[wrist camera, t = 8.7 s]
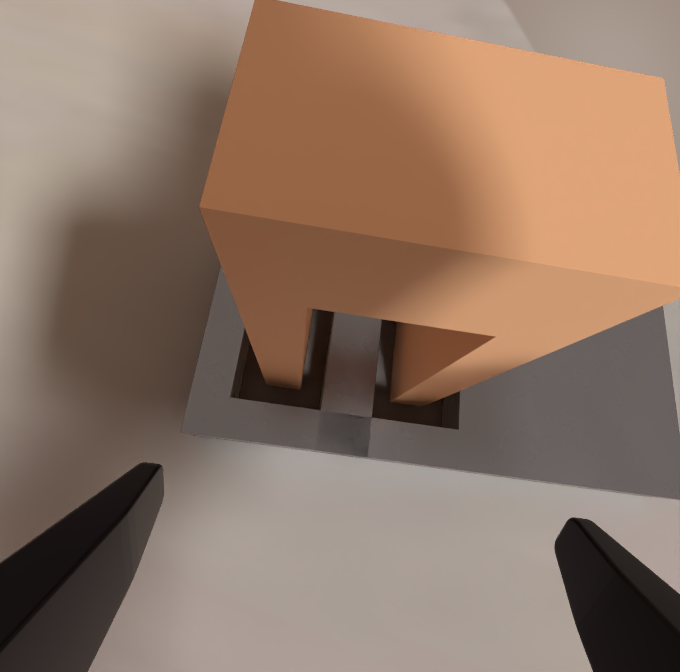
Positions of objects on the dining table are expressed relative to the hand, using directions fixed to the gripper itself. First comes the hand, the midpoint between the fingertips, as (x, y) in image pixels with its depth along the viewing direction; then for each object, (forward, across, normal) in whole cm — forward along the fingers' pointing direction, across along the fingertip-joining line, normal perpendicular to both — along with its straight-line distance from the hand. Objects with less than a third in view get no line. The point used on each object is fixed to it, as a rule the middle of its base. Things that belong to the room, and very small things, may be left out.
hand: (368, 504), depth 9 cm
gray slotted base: (+10, -4, +2) cm, 11 cm away
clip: (+10, 0, +2) cm, 10 cm away
